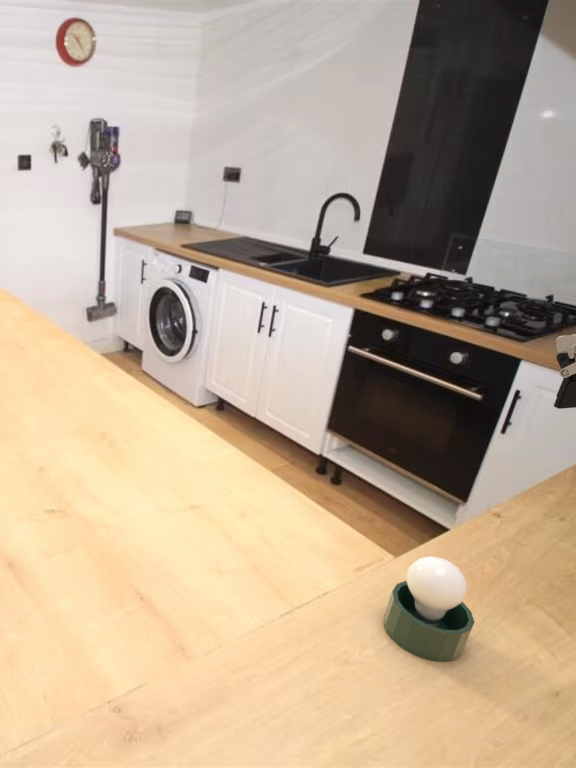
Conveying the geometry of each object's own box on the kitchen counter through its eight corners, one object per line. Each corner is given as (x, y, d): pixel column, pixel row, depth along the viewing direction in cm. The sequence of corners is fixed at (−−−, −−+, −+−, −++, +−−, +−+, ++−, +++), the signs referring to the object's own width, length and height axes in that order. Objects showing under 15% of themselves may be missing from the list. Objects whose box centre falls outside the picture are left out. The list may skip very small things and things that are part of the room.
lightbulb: (389, 631, 71) (404, 562, 67) (404, 606, 75) (418, 539, 72) (446, 658, 67) (465, 586, 63) (458, 630, 71) (477, 560, 67)
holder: (434, 608, 75) (445, 581, 73) (478, 663, 67) (491, 634, 65) (371, 607, 75) (379, 579, 73) (406, 662, 67) (417, 633, 65)
